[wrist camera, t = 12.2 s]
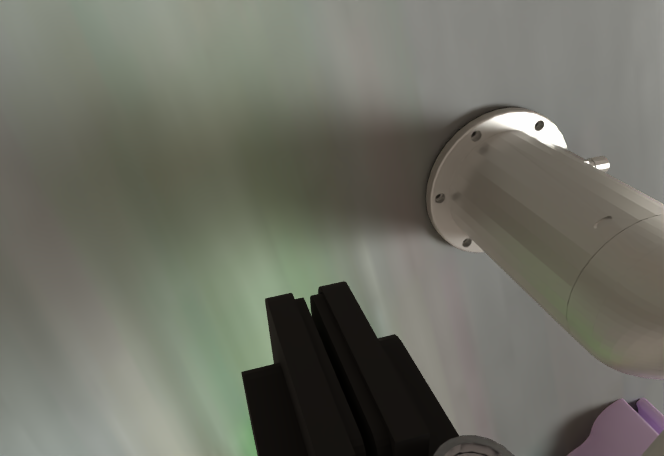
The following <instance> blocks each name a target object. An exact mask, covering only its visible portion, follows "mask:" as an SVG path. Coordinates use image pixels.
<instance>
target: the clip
mask: <svg viewBox="0 0 664 456" xmlns="http://www.w3.org/2000/svg"><path fill="white" fill-rule="evenodd" d="M636 405H637V407H638V413H637V412H636V411H635V410H634V409H633V408H632V407H631V406H630V405H629V404H628V403H627V402H626V401H625V400H624V399H619V400H617V401H615V402H614V403H612V404H611V405H609V406H608V407H607V408H606V409H604V410H603V411H602V412H601V414H600V415H599V416H598V417H597V419H596V420H595V422H594V424H593V426H592V429H591V433H590V435H589V437H588V438H587V439H586V441H585V442H584V443H583V444H581V445H580V446H579V447H577V448H576V449H574V450H573V451H572V452H570V453H569V454H568V455H567V456H641V455H642V454H643V453H644V452H645V451H646V450H647V448H648V447H649V446H650V445H651V444H652V443H653V441H654V440H655V439H656V438H657V437H658V436H659V434H660V433H661V432H662V431H663V430H664V416H663V415H662V414H661V413H660V412H659V411H658V410H657V409H656V408H655V407H654V406H653V405H652V404H651V403H650V402H649V401H648V400H646V399H645V398H641V399H640V400H638V402H637V403H636Z"/></svg>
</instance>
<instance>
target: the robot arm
mask: <svg viewBox="0 0 664 456" xmlns="http://www.w3.org/2000/svg"><path fill="white" fill-rule="evenodd" d="M608 169H609V162H608V159H607V158H606V157H604V156H599V157H594V158H589V159H587V160H585V159H583V158H582V157H580V156H578V155H576V154H574V153H572V152H570V151H568V150H567V144H566V142H565V139H564V137H563V134H562V133H561V131H560V130H559V129H558V127H557V126H556V125H555V124H554V123H553V122H552V121H551V120H549V119H548V118H547V117H545V116H543V115H541V114H539V113H537V112H535V111H531V110H528V109H525V108H513V107H510V108H504V109H497V110H494V111H492V112H489V113H486V114H483V115H481V116H480V117H478V118H476V119H474V120H473V121H471V122H469V123H468V124H467V125H465V126H464V127H463V128H462V129H460V130H459V131H458V132H457V133H456V134H455V135H454V136H453V137H452V138H451V139H450V141H449V142H448V143H447V144H446V145H445V147H444V148H443V150H442V151H441V153H440V154H439V156H438V157H437V159H436V161H435V164H434V166H433V168H432V170H431V173H430V177H429V180H428V184H427V193H426V204H427V212H428V215H429V217H430V220H431V223H432V224H433V226H434V228H435V229H436V231H437V232H438V233H439V234H440V235H441V236H442V237H443V238H444V239H445V241H447V242H448V243H450V244H451V245H452V246H454V247H456V248H458V249H460V250H463V251H468V252H474V253H480V252H485V253H486V254H487V255H488V256H489V257H490V258H491V259H492V260H493V261H494V262H495V263H496V264H497V265H498V266H499V267H500V268H502V269H503V270H504V271H505V272H506V273H507V274H508V275H509V276H510V277H511V278H512V279H513V280H514V281H515V282H516V283H517V284H518V285H519V286H520V287H521V288H522V289H523V290H524V291H525V292H526V293H527V294H528V295H529V296H530V297H532V298H533V299H534V300H535V301H536V302H537V303H538V304H539V305H540V306H541V307H542V308H543V309H544V310H545V311H546V312H547V313H548V314H549V315H550V316H551V317H552V318H553V319H554V320H555V321H556V322H557V323H558V324H559V325H560V326H562V327H563V328H564V329H565V330H566V331H567V332H568V333H569V334H570V335H571V336H572V337H573V338H574V339H575V340H576V341H577V342H578V343H579V344H580V345H581V346H583V347H584V348H585V349H586V350H587V351H588V352H589V353H590V354H591V355H592V356H594V357H595V358H596V359H597V360H599V361H600V362H602V363H604V364H605V365H607V366H608V367H611V368H613V369H615V370H617V371H620V372H622V373H625V374H629V375H633V376H638V377H642V378H650V379H659V380H664V204H662V203H660V202H659V201H657V200H655V199H653V198H651V197H649V196H647V195H646V194H644V193H642V192H640V191H638V190H636V189H634V188H633V187H631V186H629V185H627V184H625V183H623V182H621V181H619V180H618V179H616V178H614V177H612V176H610V175H608V174H606V173H605V172H607V171H608ZM265 303H266V311H267V318H268V325H269V332H270V339H271V346H272V353H273V360H274V364H272V365H268V366H264V367H260V368H256V369H252V370H248V371H244V372H242V378H243V383H244V389H245V394H246V400H247V405H248V410H249V415H250V420H251V425H252V430H253V435H254V440H255V445H256V450H257V455H258V456H514V455H513V454H512V453H511V452H510V451H508V450H507V449H506V448H505V447H504V446H503V445H501V444H499V443H497V442H495V441H493V440H491V439H488V438H484V437H480V436H476V435H462V436H459V435H458V433H457V432H456V430H455V428H454V427H453V425H452V423H451V422H450V420H449V419H448V417H447V415H446V414H445V412H444V410H443V409H442V407H441V405H440V404H439V402H438V401H437V399H436V397H435V396H434V394H433V392H432V391H431V389H430V387H429V386H428V384H427V382H426V381H425V379H424V378H423V376H422V374H421V373H420V371H419V369H418V368H417V366H416V364H415V363H414V361H413V360H412V358H411V356H410V355H409V353H408V351H407V350H406V348H405V346H404V345H403V343H402V342H401V340H400V339H399V338H398V336H396V335H395V334H394V335H390V336H386V337H382V338H377V337H376V335H375V333H374V331H373V329H372V328H371V326H370V324H369V322H368V320H367V319H366V317H365V315H364V313H363V311H362V310H361V308H360V306H359V304H358V302H357V301H356V299H355V297H354V295H353V293H352V292H351V290H350V288H349V286H348V285H347V283H346V282H339V283H334V284H330V285H325V286H321V287H319V289H318V294H317V295H312V296H311V297H310V303H311V314H312V316H311V314H310V312H309V309H308V307H307V304H306V302H305V300H304V298H299V299H294V296H293V294H292V293H289V294H284V295H279V296H275V297H270V298H266V299H265ZM641 456H664V430H663V431H662V432H661V433H660V434H659V436H658V437H657V438H656V439H655V440H654V441H653V443H652V444H651V445H650V446H649V447H648V448H647V450H646V451H645V452H644V453H643V454H642V455H641Z"/></svg>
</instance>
